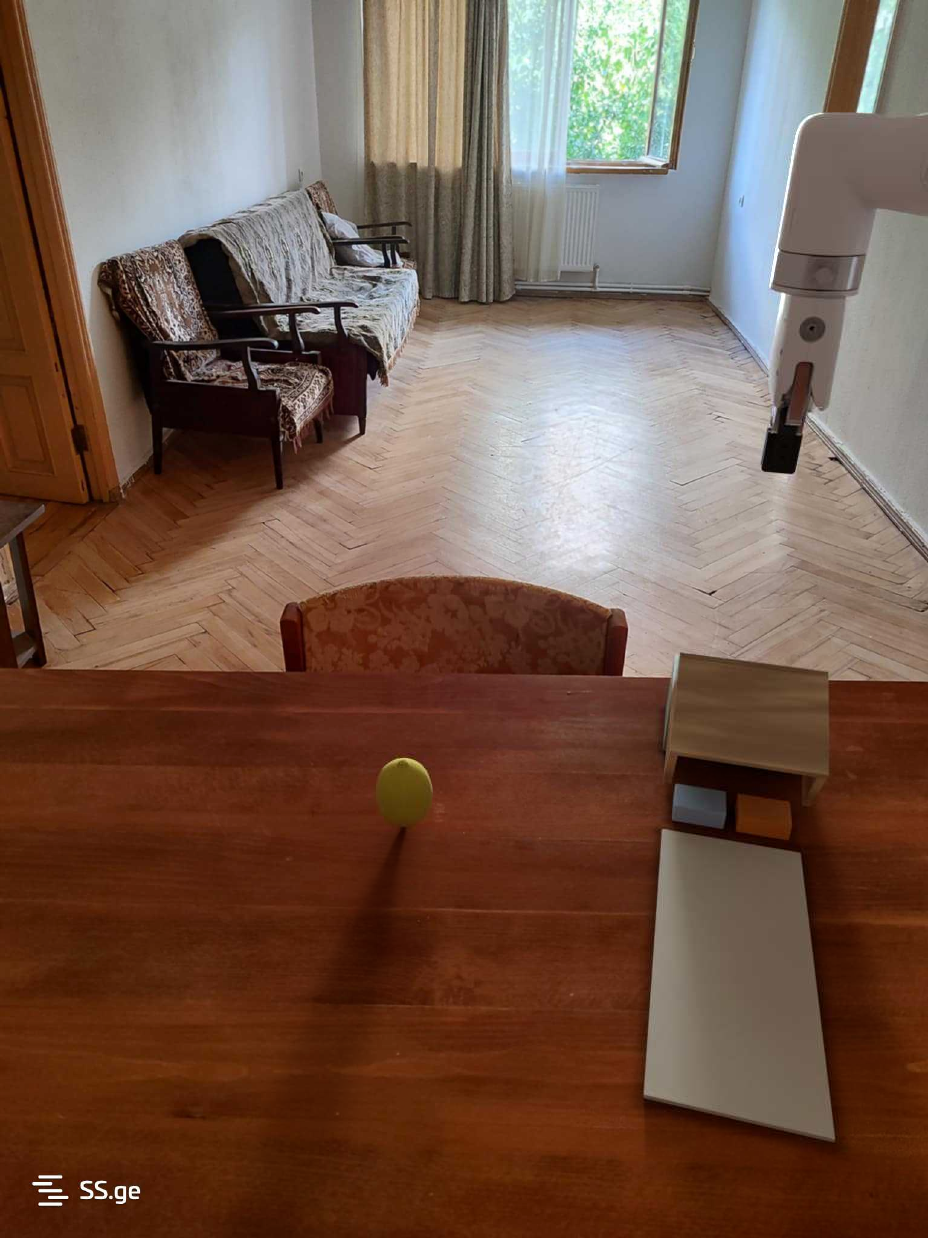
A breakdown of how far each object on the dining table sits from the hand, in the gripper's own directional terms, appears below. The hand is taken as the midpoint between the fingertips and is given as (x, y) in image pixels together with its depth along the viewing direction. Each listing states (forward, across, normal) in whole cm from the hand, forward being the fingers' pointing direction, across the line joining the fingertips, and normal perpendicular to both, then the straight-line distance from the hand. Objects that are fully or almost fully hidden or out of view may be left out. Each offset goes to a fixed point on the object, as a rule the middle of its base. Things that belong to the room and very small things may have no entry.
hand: (777, 469), depth 87 cm
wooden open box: (+20, -9, 0) cm, 21 cm away
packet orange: (+31, -16, -3) cm, 35 cm away
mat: (+31, -34, 0) cm, 46 cm away
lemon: (+31, -25, +31) cm, 51 cm away
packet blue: (+31, -16, +3) cm, 35 cm away
